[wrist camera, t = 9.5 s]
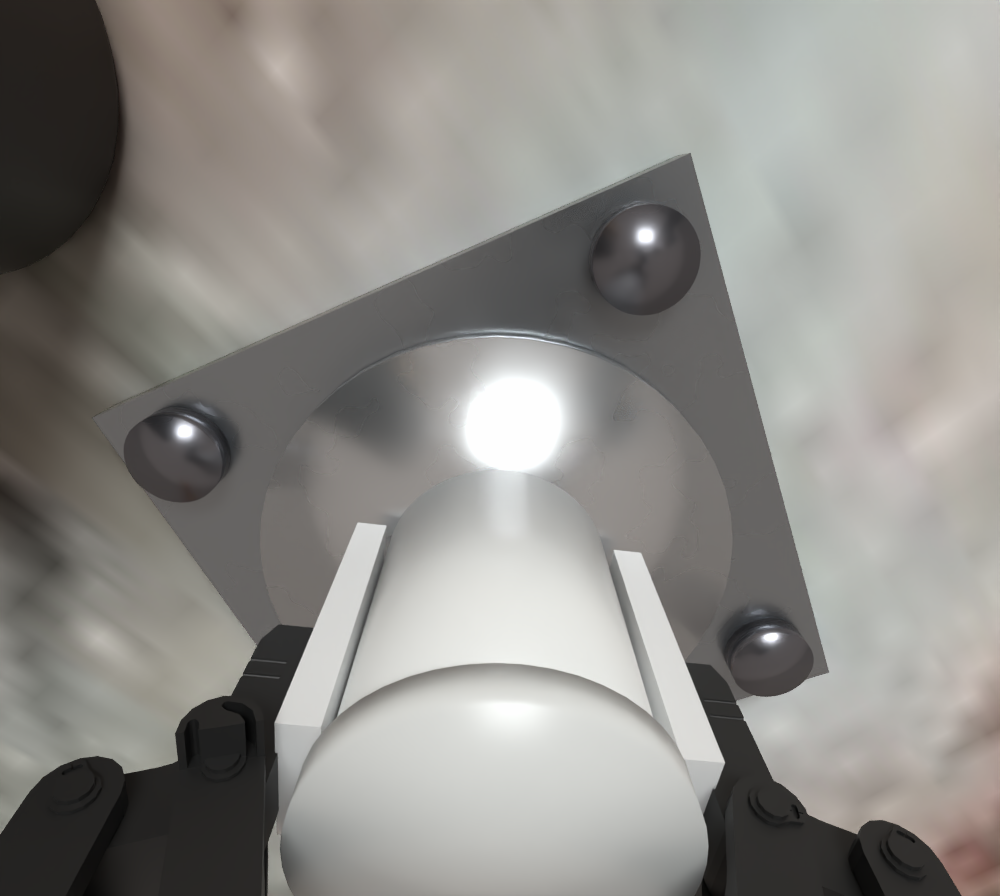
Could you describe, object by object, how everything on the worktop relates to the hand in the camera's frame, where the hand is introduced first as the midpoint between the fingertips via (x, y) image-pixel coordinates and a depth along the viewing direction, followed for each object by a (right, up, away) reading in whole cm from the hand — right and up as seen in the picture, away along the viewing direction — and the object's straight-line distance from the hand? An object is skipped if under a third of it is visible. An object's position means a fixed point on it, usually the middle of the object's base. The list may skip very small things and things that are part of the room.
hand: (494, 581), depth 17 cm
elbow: (0, -1, +1) cm, 1 cm away
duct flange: (0, +1, +2) cm, 2 cm away
